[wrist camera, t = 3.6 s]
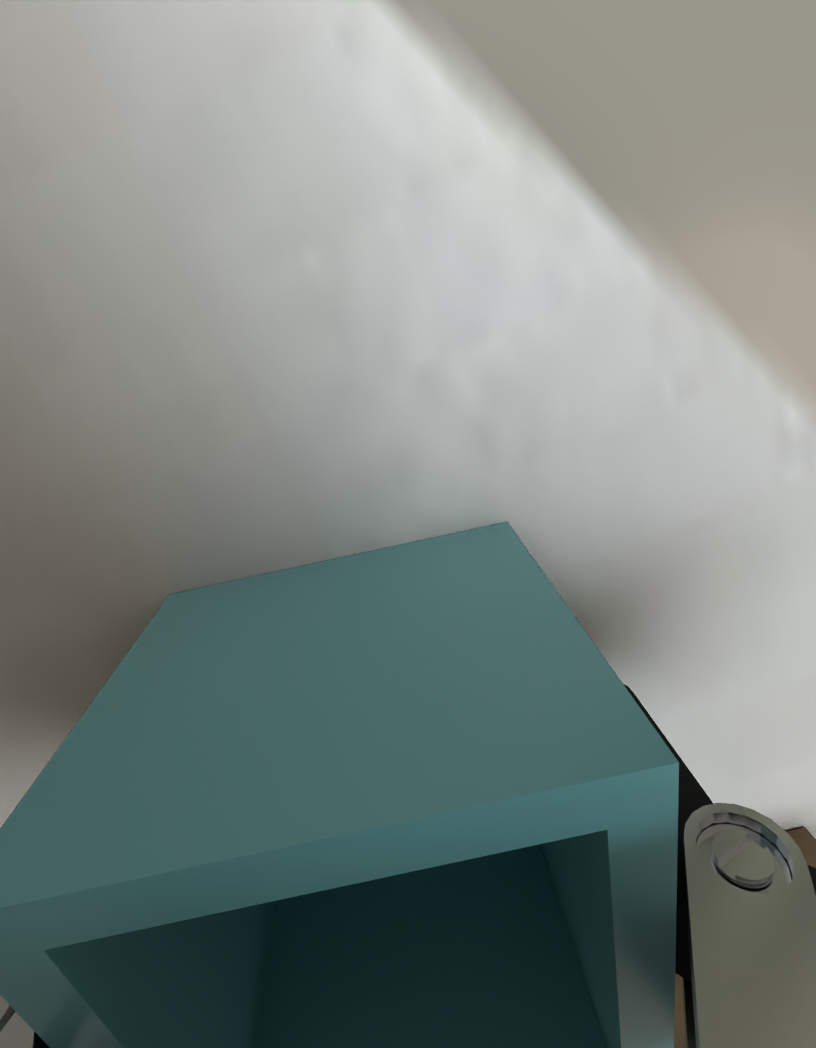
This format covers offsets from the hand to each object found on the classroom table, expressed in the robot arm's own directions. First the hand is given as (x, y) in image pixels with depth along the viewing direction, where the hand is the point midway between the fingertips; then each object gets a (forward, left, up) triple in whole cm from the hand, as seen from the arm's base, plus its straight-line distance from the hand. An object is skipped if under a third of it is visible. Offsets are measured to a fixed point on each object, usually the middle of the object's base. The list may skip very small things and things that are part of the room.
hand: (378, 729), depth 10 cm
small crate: (0, 0, -1) cm, 1 cm away
